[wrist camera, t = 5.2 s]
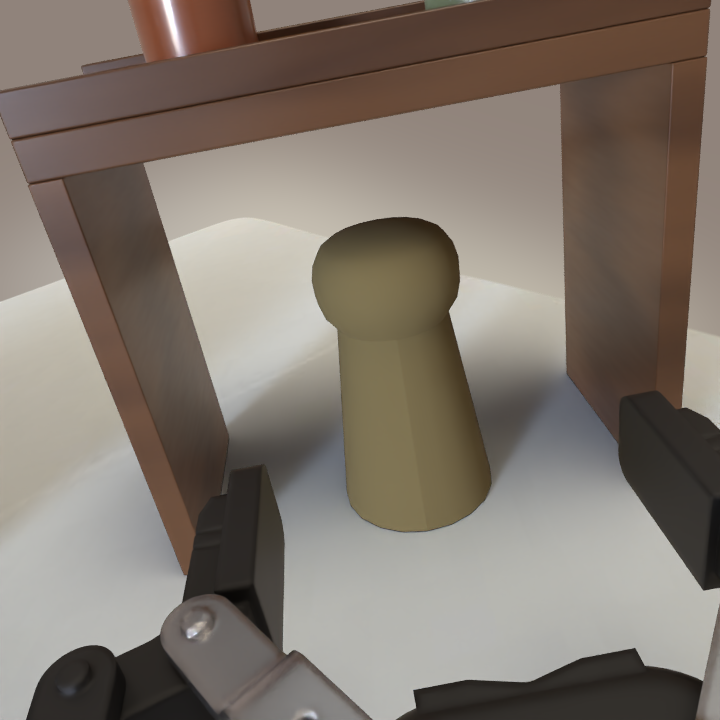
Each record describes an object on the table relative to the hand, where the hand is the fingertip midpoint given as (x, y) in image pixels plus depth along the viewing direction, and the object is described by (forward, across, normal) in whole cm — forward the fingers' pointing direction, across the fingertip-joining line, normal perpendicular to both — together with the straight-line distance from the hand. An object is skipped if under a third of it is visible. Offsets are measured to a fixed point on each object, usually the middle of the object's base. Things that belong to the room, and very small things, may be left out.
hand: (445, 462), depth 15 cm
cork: (+10, 0, +9) cm, 14 cm away
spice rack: (+12, 0, +9) cm, 15 cm away
